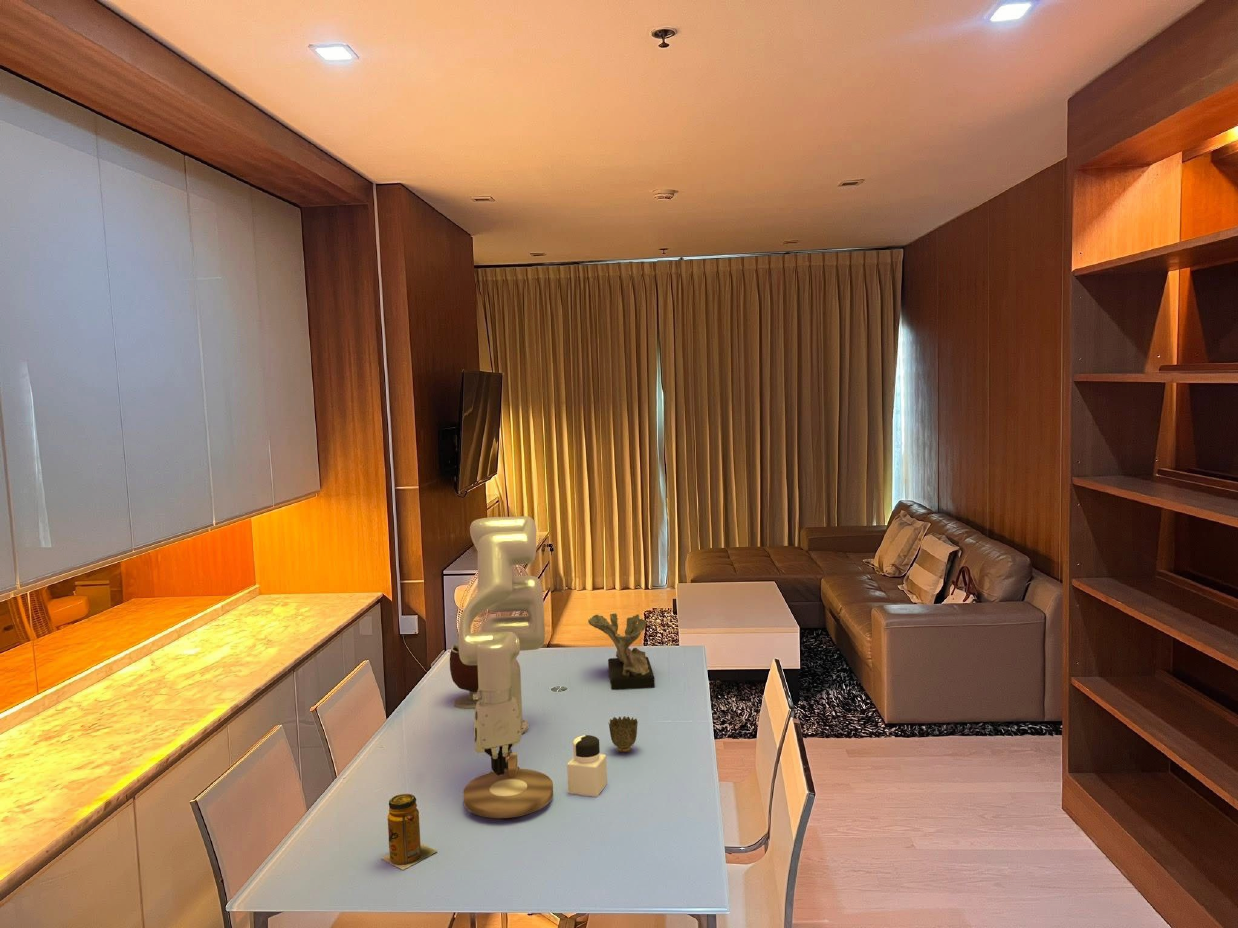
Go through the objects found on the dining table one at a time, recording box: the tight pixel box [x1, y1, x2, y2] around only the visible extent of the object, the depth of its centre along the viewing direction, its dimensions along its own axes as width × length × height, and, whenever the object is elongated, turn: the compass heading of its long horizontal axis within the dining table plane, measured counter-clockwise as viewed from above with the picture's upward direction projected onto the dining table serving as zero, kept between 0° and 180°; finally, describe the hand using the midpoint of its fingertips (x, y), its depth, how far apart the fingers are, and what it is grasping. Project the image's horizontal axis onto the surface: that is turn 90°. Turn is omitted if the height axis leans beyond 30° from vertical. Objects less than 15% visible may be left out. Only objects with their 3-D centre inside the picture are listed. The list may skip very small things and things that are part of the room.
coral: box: [587, 613, 656, 691], centre depth 270 cm, size 25×20×21 cm
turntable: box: [462, 752, 554, 819], centre depth 188 cm, size 20×20×6 cm
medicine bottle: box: [566, 734, 608, 798], centre depth 194 cm, size 7×7×12 cm
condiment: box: [381, 793, 438, 871], centre depth 167 cm, size 7×8×12 cm
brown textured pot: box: [608, 715, 639, 754], centre depth 214 cm, size 8×7×8 cm
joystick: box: [504, 748, 521, 770], centre depth 203 cm, size 7×5×6 cm
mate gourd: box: [449, 643, 479, 710], centre depth 254 cm, size 16×14×20 cm
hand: (498, 772), depth 193 cm, fingers closed
